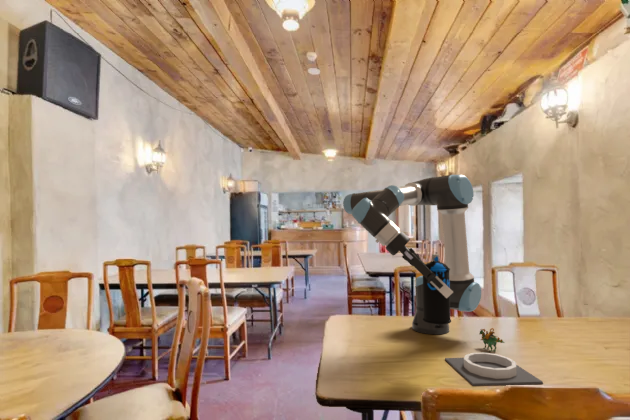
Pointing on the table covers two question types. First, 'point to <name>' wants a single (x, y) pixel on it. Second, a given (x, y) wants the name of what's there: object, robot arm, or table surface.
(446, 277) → the aerosol can
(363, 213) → the robot arm
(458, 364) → the can holder
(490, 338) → the figurine
